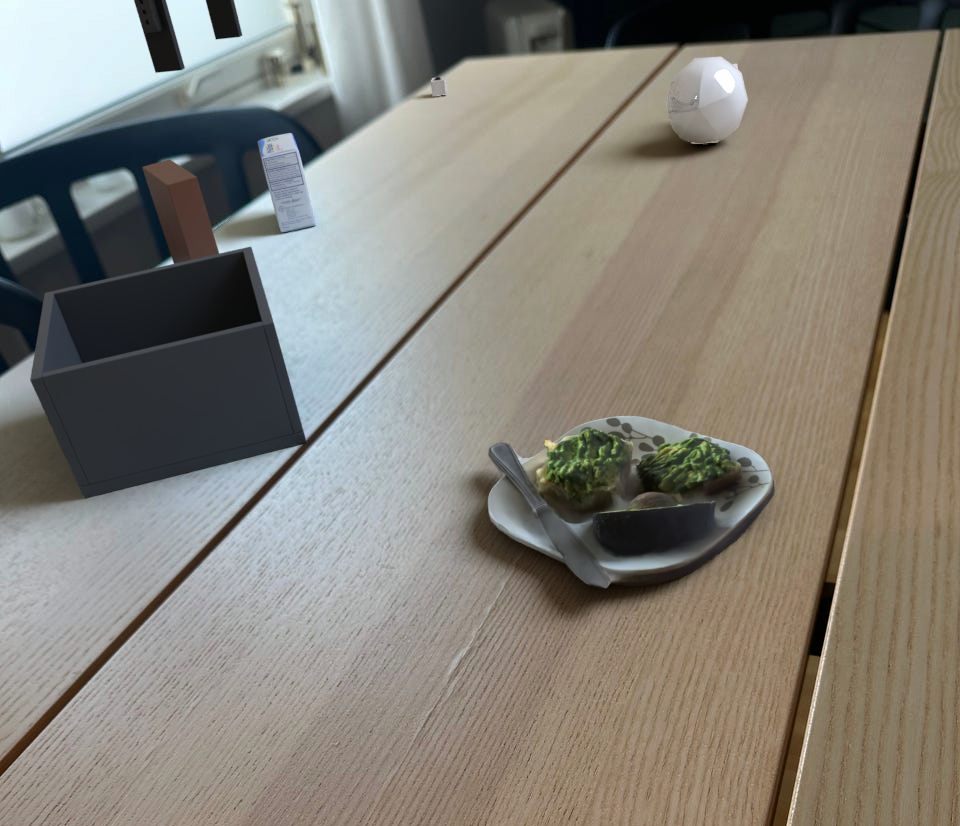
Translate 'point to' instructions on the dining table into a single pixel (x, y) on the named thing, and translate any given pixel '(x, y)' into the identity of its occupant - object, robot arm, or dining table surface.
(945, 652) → the dining table surface
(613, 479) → the salad plate
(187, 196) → the reddish brown rectangular block
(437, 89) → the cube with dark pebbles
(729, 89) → the white faceted oblong piece
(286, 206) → the medicine box
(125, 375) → the open storage box
